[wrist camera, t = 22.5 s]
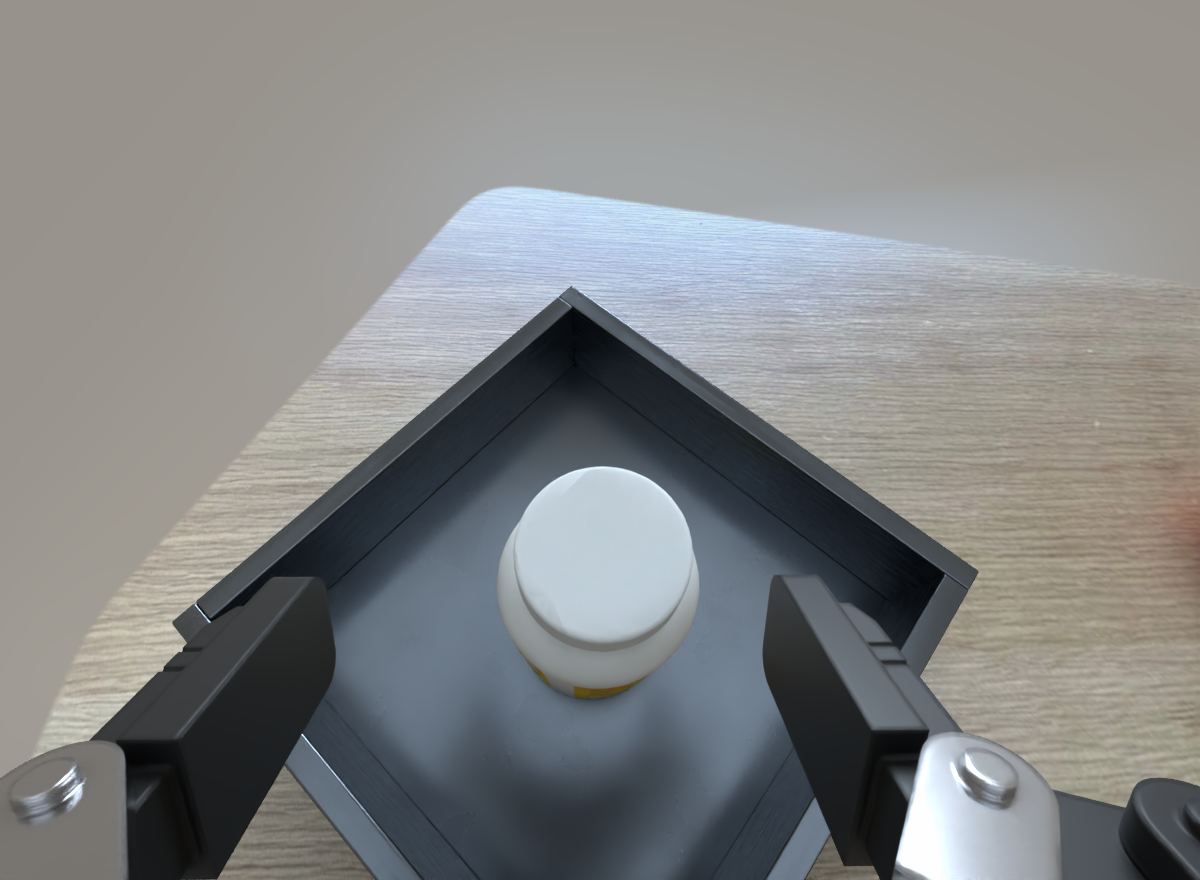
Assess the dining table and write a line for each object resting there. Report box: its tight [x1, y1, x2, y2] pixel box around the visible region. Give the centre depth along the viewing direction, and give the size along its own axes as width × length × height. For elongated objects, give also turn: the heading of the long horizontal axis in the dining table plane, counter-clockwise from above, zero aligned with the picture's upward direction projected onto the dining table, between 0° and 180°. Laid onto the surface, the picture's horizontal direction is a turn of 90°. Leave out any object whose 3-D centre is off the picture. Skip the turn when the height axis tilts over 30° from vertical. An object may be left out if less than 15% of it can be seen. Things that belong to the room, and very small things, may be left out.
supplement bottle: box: [497, 467, 699, 699], centre depth 17 cm, size 5×5×10 cm
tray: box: [172, 286, 978, 880], centre depth 20 cm, size 18×18×5 cm
